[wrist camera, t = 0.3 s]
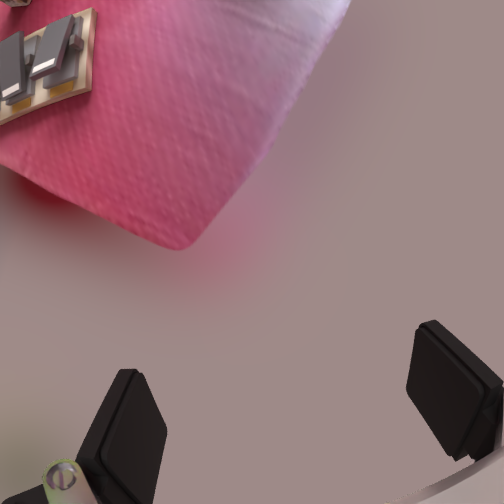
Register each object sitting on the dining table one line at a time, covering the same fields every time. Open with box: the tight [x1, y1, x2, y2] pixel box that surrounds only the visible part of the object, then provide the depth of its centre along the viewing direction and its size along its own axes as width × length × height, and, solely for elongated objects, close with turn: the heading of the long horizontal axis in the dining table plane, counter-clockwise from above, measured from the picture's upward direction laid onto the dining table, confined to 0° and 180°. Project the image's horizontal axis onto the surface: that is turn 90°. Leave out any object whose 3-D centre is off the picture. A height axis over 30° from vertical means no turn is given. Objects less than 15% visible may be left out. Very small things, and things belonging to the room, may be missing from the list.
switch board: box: [0, 8, 97, 125], centre depth 28 cm, size 14×24×5 cm, turn 94°
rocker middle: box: [0, 31, 26, 101], centre depth 25 cm, size 10×4×1 cm, turn 4°
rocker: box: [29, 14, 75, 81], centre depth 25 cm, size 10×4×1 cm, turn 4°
